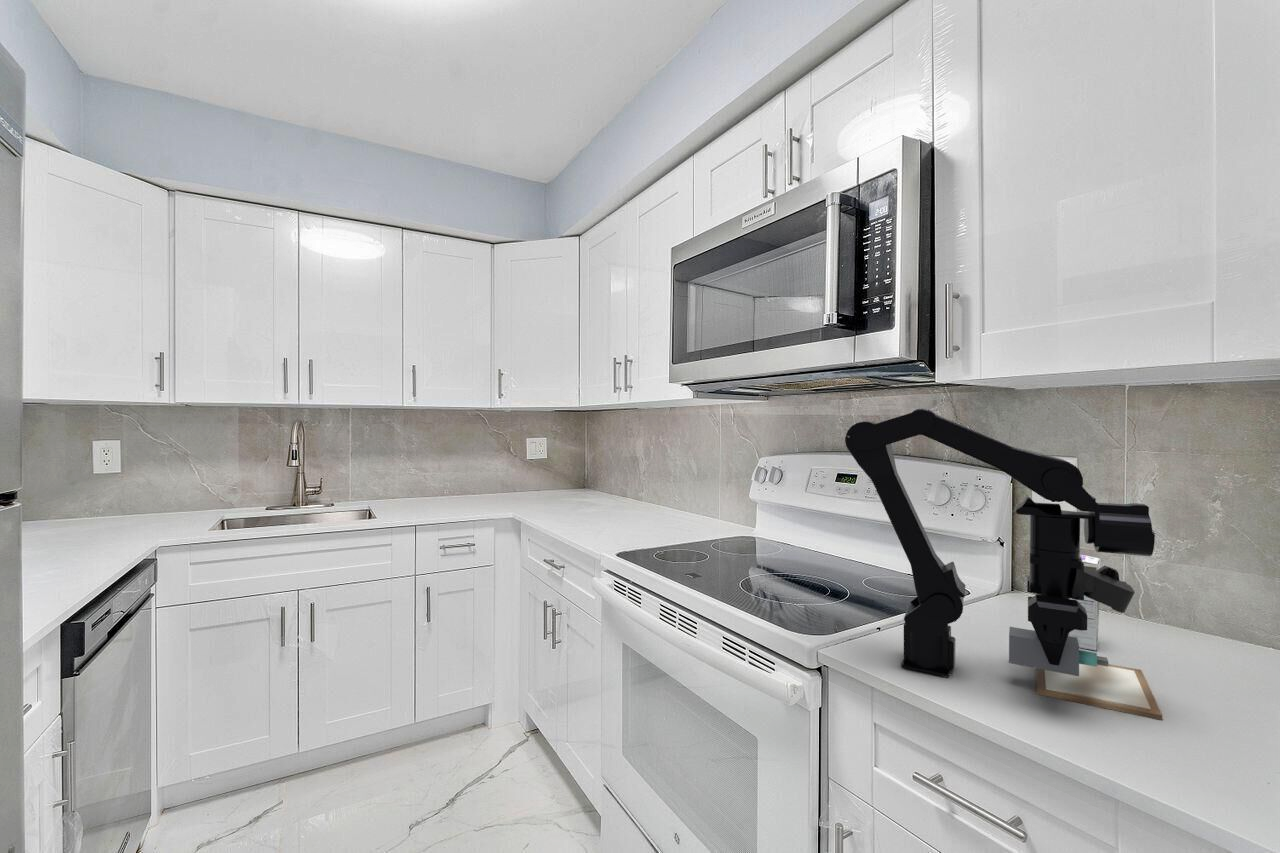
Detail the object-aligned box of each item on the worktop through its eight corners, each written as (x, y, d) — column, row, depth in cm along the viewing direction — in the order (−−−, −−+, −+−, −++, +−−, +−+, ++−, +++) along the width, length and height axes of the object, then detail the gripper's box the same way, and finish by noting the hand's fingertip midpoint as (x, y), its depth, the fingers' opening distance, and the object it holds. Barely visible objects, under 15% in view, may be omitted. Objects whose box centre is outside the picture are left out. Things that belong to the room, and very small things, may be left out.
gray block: (1008, 662, 83) (1009, 634, 83) (1009, 653, 87) (1009, 626, 87) (1097, 680, 78) (1098, 650, 78) (1094, 669, 81) (1095, 640, 81)
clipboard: (1037, 694, 81) (1037, 682, 81) (1035, 654, 94) (1035, 644, 94) (1162, 720, 74) (1162, 707, 74) (1141, 673, 87) (1141, 663, 87)
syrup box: (1057, 634, 103) (1057, 551, 103) (1100, 641, 100) (1100, 556, 99) (1054, 643, 99) (1054, 557, 99) (1099, 652, 95) (1099, 563, 95)
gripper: (1140, 570, 70) (1139, 701, 70) (1119, 542, 85) (1118, 649, 86) (1028, 558, 76) (1027, 678, 76) (1027, 534, 92) (1026, 634, 92)
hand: (1053, 659), depth 82 cm, fingers closed on gray block, 4 cm apart
